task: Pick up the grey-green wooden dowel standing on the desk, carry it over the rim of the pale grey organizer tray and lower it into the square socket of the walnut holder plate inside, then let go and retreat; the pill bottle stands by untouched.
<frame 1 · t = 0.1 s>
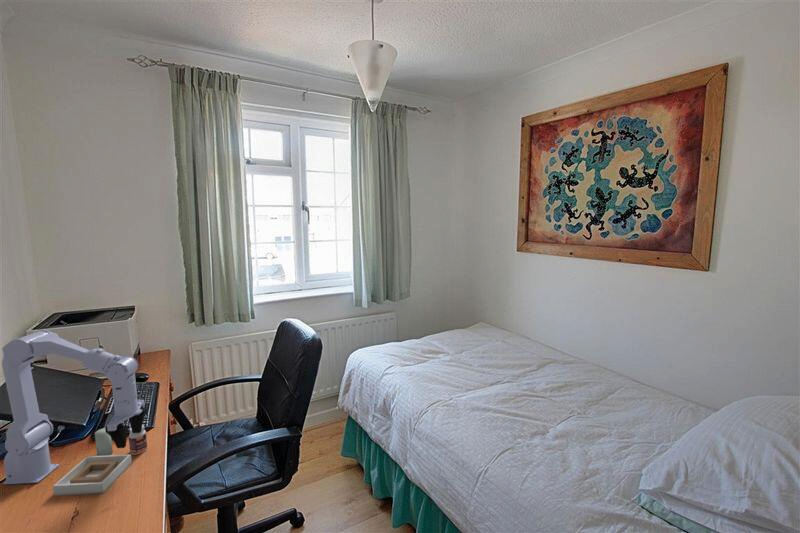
hand: (129, 439, 115), 10 cm above the table, fingers open, 7 cm apart
peg: (105, 453, 124), on the table
pill bottle: (139, 451, 126), on the table
tray: (95, 478, 113), on the table
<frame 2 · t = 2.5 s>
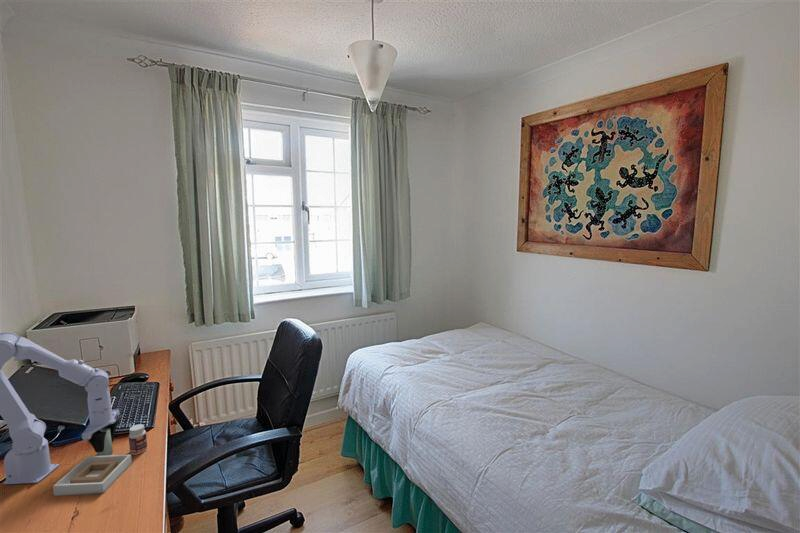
hand: (104, 447, 124), 2 cm above the table, fingers closed on peg, 4 cm apart
peg: (105, 453, 124), on the table, touching gripper
everything else where it was.
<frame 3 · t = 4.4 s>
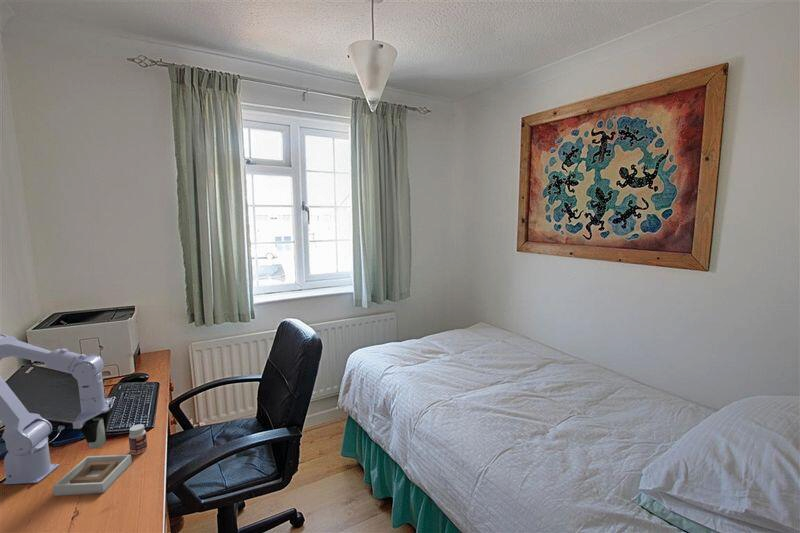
hand: (96, 437, 116), 10 cm above the table, fingers closed on peg, 4 cm apart
peg: (97, 444, 117), point 7 cm above the table, touching gripper
everything else where it was.
when the fingers open (3 cm above the table, at t = 6.7 s): peg stays where it is, resting on tray.
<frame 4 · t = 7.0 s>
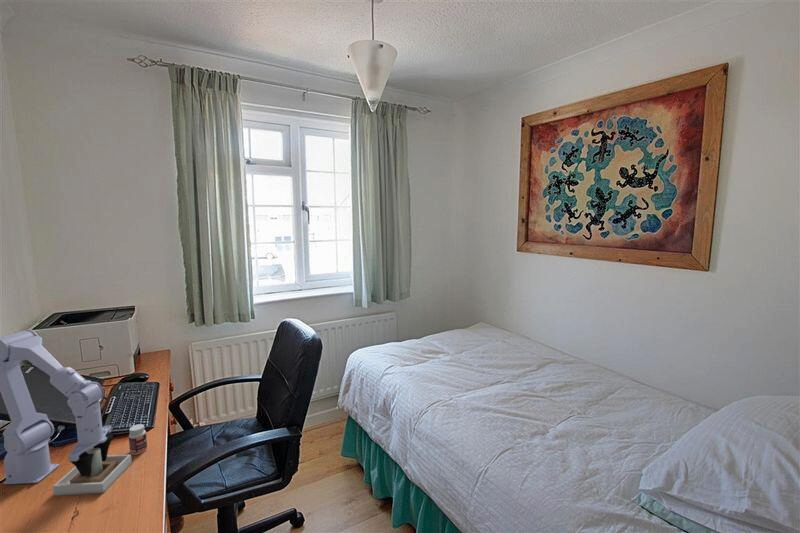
hand: (94, 468, 112), 3 cm above the table, fingers open, 6 cm apart
peg: (94, 476, 113), point 1 cm above the table, touching tray
everything else where it was.
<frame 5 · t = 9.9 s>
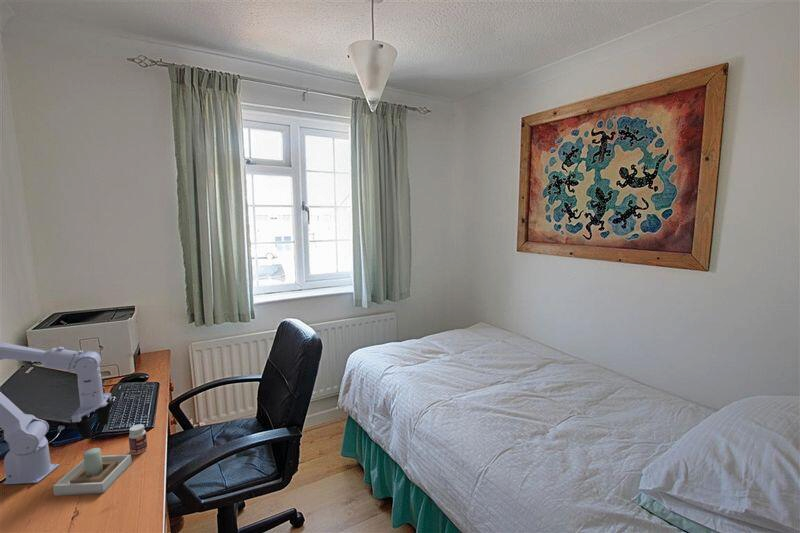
hand: (95, 431, 120), 10 cm above the table, fingers open, 7 cm apart
nothing on the table moved.
at the end: peg 0.1 cm off-centre on the tray, point 0.6 cm above the tray's base; peg tilted 0°; the gripper is holding nothing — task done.
